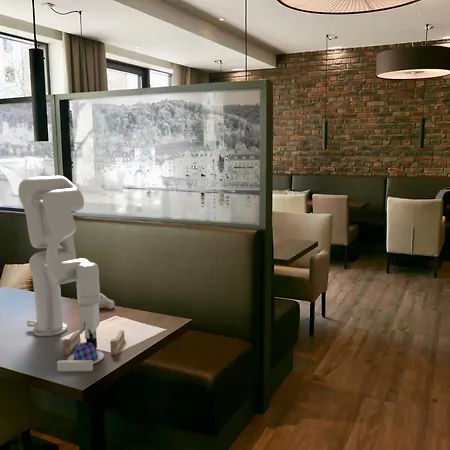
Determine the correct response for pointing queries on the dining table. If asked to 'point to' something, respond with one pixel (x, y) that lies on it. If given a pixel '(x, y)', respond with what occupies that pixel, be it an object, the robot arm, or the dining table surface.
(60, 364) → the bar
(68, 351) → the pair of beige bars
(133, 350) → the dining table surface
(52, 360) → the dining table surface
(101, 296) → the white patterned lump
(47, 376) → the dining table surface
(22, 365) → the dining table surface
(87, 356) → the pudding
